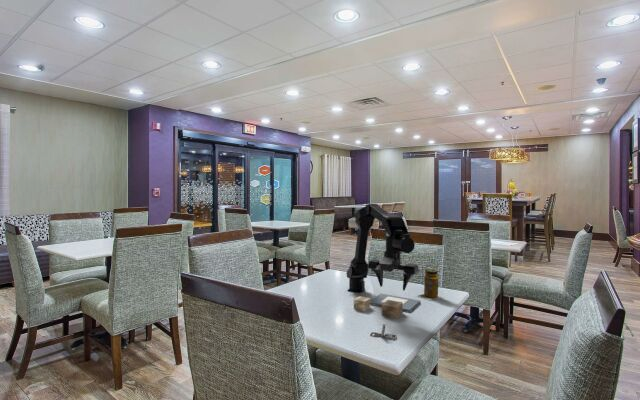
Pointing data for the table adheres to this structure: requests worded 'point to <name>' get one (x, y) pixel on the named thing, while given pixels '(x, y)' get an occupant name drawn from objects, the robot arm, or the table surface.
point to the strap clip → (389, 336)
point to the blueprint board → (407, 303)
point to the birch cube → (361, 303)
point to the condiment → (430, 285)
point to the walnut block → (392, 309)
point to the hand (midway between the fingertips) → (392, 288)
